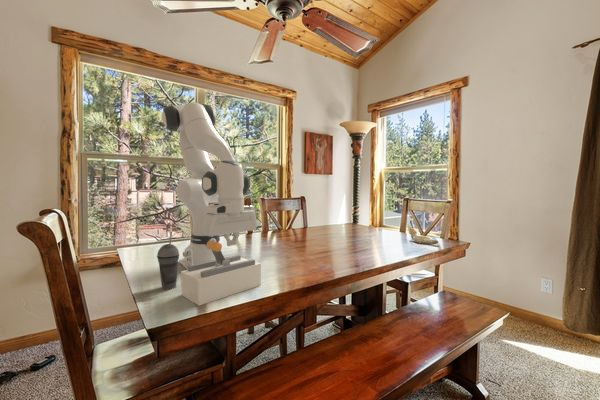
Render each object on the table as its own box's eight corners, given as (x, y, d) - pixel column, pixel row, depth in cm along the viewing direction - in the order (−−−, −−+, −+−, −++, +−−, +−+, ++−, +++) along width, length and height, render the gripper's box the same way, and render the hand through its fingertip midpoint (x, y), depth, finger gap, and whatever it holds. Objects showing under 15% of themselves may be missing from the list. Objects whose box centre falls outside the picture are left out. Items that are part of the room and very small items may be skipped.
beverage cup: (162, 283, 105) (161, 230, 104) (183, 283, 106) (181, 230, 104) (154, 291, 98) (152, 233, 97) (176, 290, 99) (174, 233, 97)
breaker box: (181, 294, 95) (180, 262, 94) (241, 277, 112) (241, 250, 112) (198, 305, 87) (198, 270, 86) (260, 285, 104) (260, 255, 103)
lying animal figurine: (412, 239, 188) (412, 224, 188) (442, 245, 170) (442, 229, 169) (403, 240, 184) (403, 225, 183) (433, 247, 166) (433, 230, 165)
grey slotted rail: (187, 270, 95) (187, 265, 95) (238, 258, 110) (238, 254, 110) (203, 277, 88) (203, 272, 88) (255, 264, 103) (255, 260, 102)
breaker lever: (214, 263, 100) (204, 243, 96) (221, 258, 101) (212, 238, 98) (222, 266, 96) (212, 245, 93) (229, 261, 98) (219, 240, 95)
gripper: (250, 204, 110) (250, 239, 111) (200, 207, 95) (200, 248, 96) (260, 205, 106) (260, 242, 107) (209, 209, 91) (210, 251, 92)
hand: (231, 245), depth 101 cm, fingers closed
